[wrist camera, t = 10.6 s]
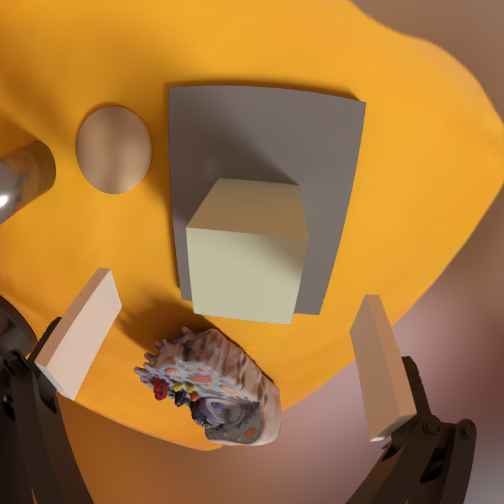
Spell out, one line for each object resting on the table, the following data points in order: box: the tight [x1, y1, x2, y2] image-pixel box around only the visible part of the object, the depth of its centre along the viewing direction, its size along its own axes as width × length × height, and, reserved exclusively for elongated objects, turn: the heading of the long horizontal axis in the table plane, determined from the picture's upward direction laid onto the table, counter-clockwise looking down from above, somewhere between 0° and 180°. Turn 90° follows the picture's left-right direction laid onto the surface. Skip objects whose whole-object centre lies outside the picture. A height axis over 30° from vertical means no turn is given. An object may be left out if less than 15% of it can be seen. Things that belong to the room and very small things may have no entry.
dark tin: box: [0, 141, 56, 224], centre depth 18 cm, size 6×6×9 cm
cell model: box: [134, 327, 282, 445], centre depth 31 cm, size 13×11×20 cm
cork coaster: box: [76, 106, 152, 194], centre depth 20 cm, size 8×8×1 cm
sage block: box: [186, 178, 309, 325], centre depth 18 cm, size 6×6×8 cm
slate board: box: [168, 85, 366, 315], centre depth 22 cm, size 14×20×1 cm
